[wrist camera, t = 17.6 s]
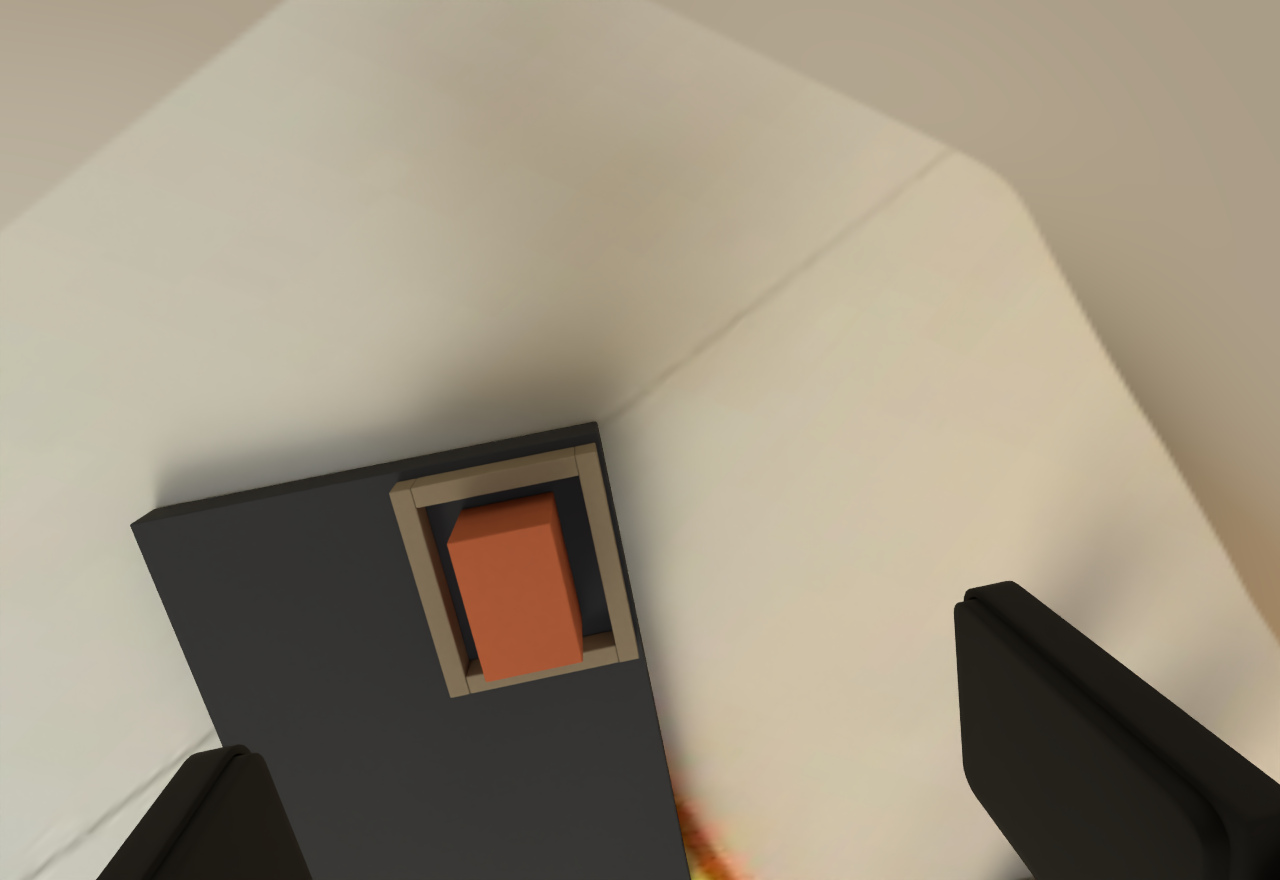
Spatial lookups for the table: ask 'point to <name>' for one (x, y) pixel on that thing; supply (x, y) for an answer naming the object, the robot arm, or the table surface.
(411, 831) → the backrest board
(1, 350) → the table surface
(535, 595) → the orange rectangular block
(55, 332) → the table surface
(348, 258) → the table surface
